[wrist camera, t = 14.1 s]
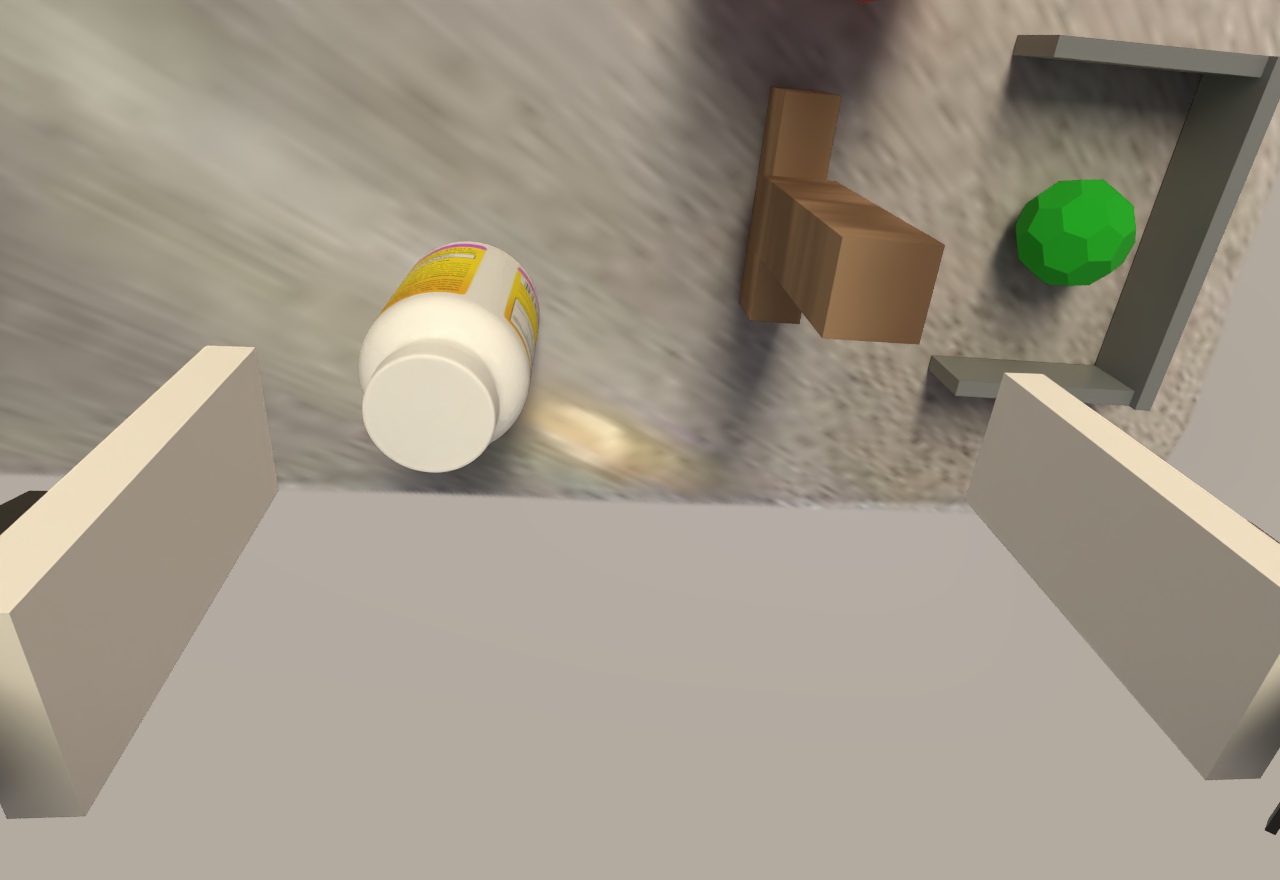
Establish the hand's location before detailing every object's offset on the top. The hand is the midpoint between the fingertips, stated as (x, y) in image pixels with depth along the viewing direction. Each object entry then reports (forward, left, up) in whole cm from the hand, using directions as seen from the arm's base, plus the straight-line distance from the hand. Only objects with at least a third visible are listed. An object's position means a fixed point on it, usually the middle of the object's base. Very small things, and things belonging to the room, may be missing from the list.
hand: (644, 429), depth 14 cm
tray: (+17, +15, -26) cm, 34 cm away
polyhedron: (+16, +14, -26) cm, 34 cm away
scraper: (+6, +5, -26) cm, 27 cm away
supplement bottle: (-1, -9, -26) cm, 27 cm away
